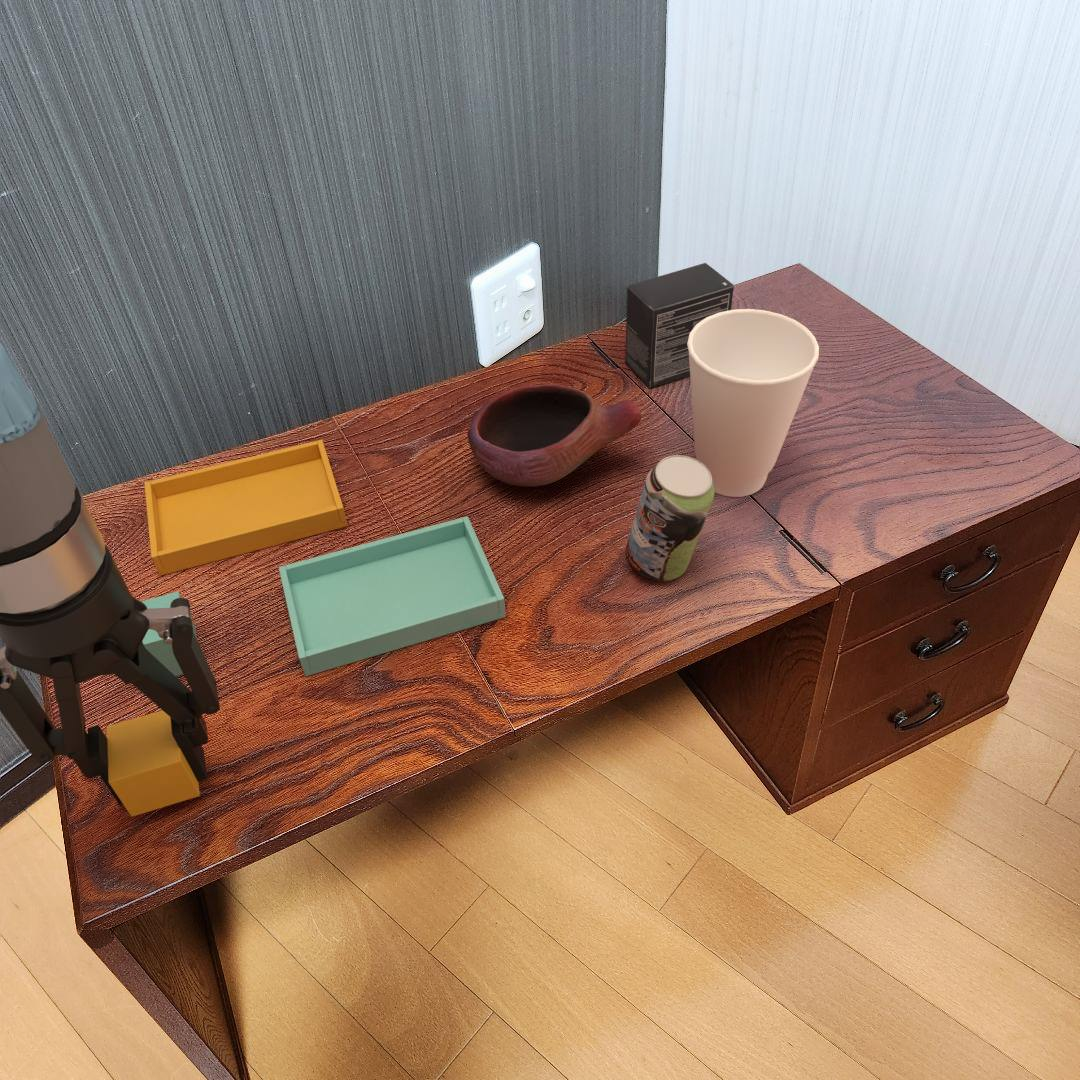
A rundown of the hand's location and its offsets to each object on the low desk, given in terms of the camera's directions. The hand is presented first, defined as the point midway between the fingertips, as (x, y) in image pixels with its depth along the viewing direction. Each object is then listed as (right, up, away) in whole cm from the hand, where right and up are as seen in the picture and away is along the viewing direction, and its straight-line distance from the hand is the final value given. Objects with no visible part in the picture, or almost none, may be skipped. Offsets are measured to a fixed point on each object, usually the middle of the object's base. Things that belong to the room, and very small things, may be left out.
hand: (162, 776), depth 71 cm
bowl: (+30, +26, +27) cm, 48 cm away
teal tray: (+15, +12, +14) cm, 24 cm away
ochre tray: (-1, +21, +23) cm, 31 cm away
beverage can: (+41, +16, +17) cm, 47 cm away
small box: (+45, +39, +39) cm, 71 cm away
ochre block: (0, 0, 0) cm, 0 cm away
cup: (+49, +25, +25) cm, 60 cm away
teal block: (-4, +8, +11) cm, 14 cm away
